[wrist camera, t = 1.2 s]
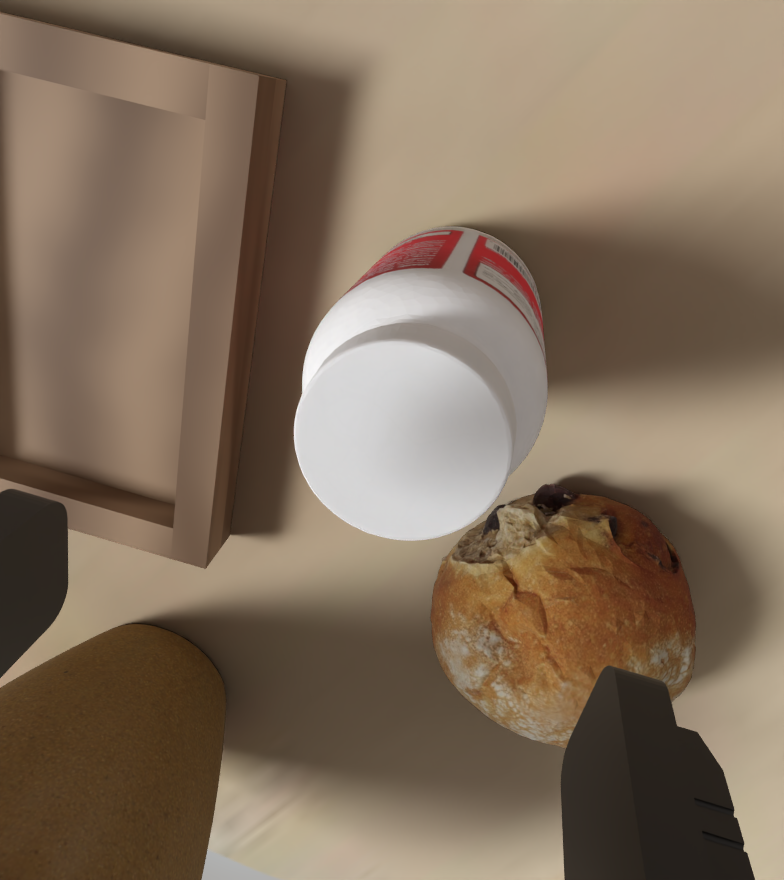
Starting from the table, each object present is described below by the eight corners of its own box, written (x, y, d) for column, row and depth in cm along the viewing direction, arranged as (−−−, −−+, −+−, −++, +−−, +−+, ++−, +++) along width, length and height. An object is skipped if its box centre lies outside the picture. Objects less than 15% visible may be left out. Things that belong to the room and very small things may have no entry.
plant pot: (245, 542, 30) (-13, 926, 16) (327, 784, 36) (192, 1228, 21) (-31, 566, 34) (-442, 894, 19) (83, 782, 39) (-171, 1159, 25)
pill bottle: (350, 367, 26) (238, 522, 16) (389, 201, 23) (283, 262, 13) (509, 416, 25) (497, 605, 15) (569, 253, 23) (599, 356, 13)
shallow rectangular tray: (286, 80, 22) (259, 75, 20) (229, 535, 30) (205, 568, 28) (-58, -3, 23) (-122, -16, 20) (-23, 462, 31) (-66, 488, 29)
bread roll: (439, 576, 33) (409, 746, 28) (454, 444, 25) (416, 649, 20) (647, 614, 32) (654, 799, 27) (732, 488, 24) (763, 717, 19)
